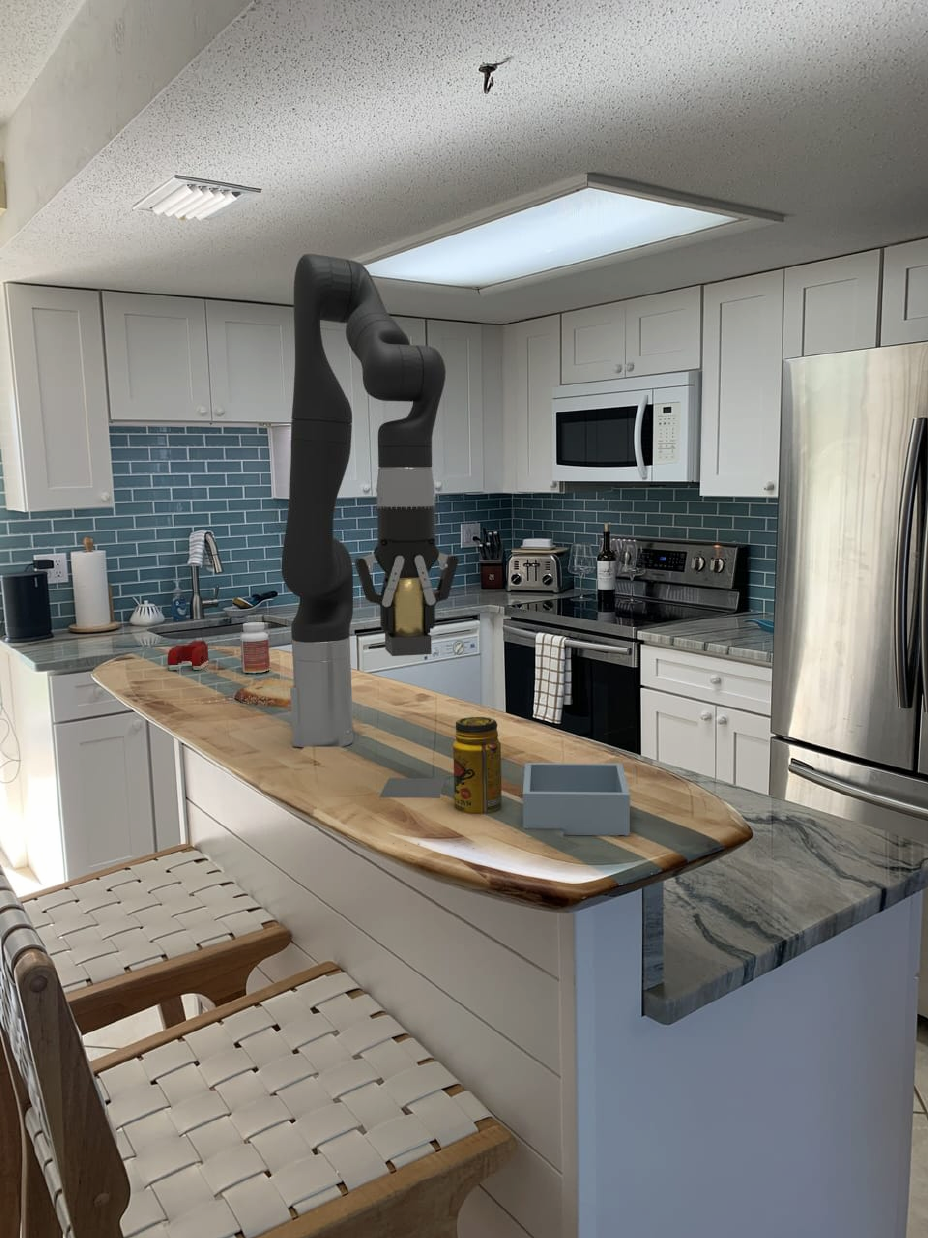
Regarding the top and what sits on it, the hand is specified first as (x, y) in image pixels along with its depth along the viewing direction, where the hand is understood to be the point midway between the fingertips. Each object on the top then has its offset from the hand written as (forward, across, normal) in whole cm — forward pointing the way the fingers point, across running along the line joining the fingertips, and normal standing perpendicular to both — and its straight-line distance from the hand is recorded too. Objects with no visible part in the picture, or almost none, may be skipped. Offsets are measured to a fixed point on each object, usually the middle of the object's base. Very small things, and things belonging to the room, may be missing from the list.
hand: (407, 632), depth 129 cm
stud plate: (+22, 0, 0) cm, 22 cm away
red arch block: (+23, +30, -108) cm, 114 cm away
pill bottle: (+23, +16, -94) cm, 98 cm away
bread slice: (+23, +12, -64) cm, 69 cm away
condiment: (+22, -8, +10) cm, 25 cm away
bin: (+22, -18, +15) cm, 32 cm away
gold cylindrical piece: (+3, 0, 0) cm, 3 cm away
